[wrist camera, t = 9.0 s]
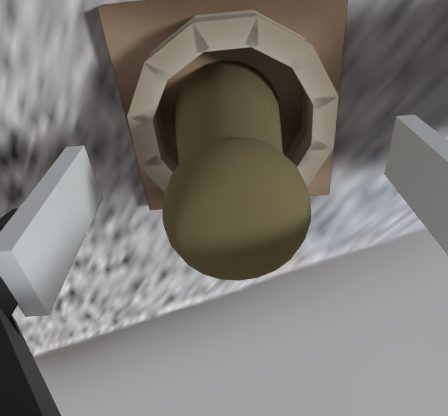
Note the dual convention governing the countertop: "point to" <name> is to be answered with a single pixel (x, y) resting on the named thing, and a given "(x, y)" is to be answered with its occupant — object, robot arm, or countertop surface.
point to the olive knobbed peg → (233, 177)
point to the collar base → (232, 51)
